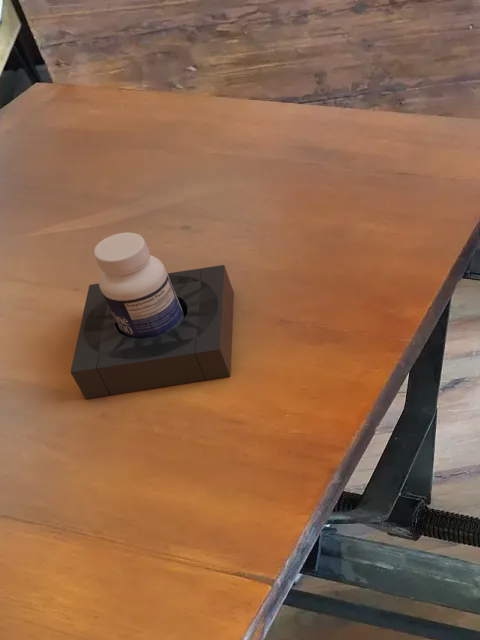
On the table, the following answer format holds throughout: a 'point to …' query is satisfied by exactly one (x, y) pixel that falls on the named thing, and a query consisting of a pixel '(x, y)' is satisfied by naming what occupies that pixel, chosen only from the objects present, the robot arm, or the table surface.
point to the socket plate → (158, 340)
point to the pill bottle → (136, 287)
